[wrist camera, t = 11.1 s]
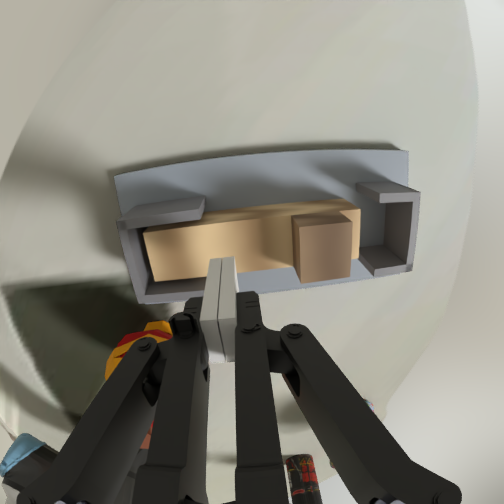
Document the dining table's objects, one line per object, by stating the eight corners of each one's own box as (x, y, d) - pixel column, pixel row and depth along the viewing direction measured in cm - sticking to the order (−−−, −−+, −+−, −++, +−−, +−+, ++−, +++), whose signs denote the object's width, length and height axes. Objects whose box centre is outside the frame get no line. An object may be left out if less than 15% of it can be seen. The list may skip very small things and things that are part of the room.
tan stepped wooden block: (164, 262, 27) (146, 300, 21) (155, 219, 26) (131, 246, 19) (343, 241, 28) (372, 273, 21) (343, 198, 26) (376, 219, 19)
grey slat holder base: (148, 297, 31) (132, 332, 25) (119, 173, 25) (90, 186, 19) (393, 268, 31) (421, 295, 25) (401, 149, 26) (437, 156, 20)
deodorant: (312, 461, 51) (324, 513, 37) (287, 466, 51) (295, 519, 37) (311, 452, 48) (324, 509, 34) (284, 457, 48) (293, 515, 35)
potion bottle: (163, 287, 30) (124, 392, 16) (220, 345, 34) (217, 451, 20) (107, 326, 32) (63, 417, 18) (161, 375, 36) (143, 466, 22)
